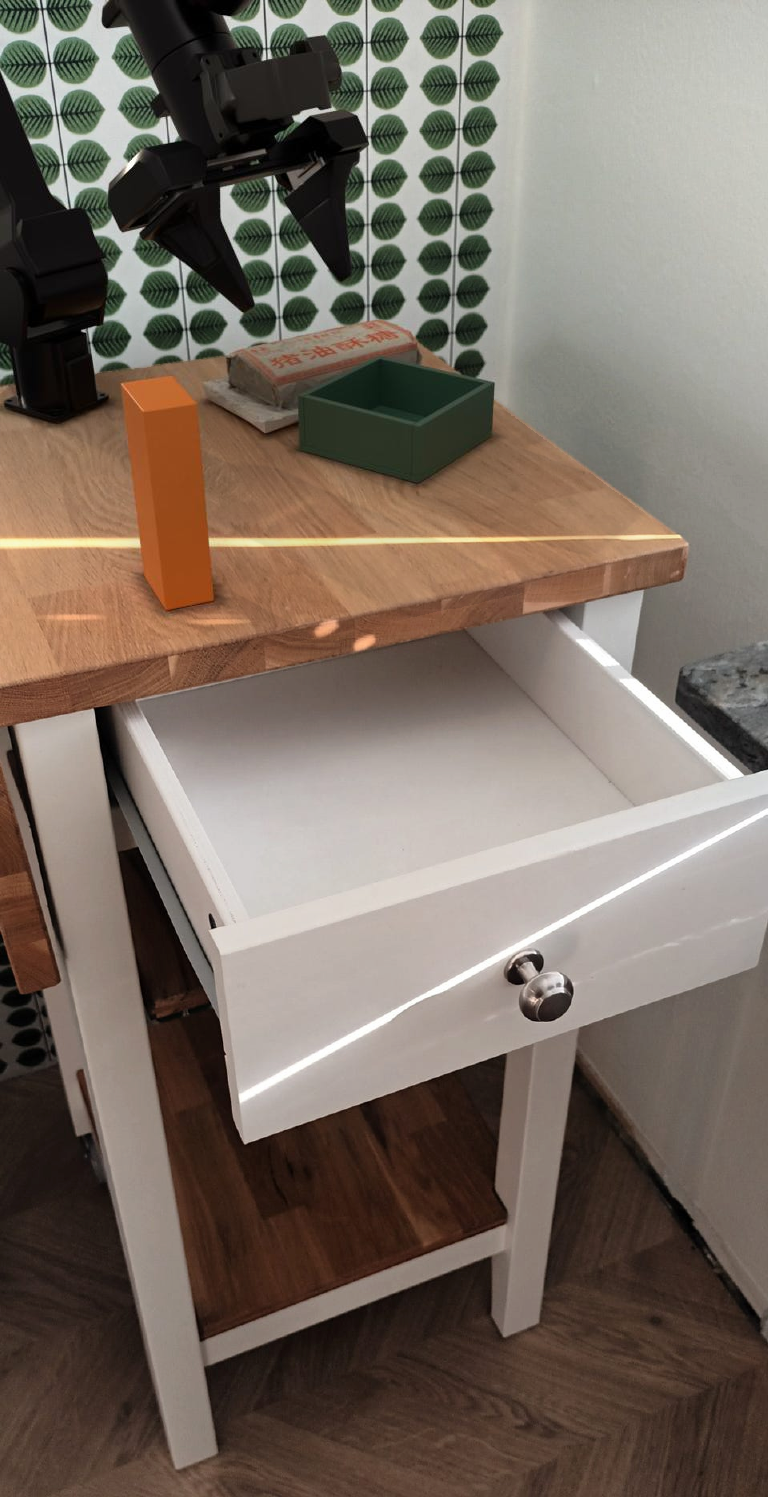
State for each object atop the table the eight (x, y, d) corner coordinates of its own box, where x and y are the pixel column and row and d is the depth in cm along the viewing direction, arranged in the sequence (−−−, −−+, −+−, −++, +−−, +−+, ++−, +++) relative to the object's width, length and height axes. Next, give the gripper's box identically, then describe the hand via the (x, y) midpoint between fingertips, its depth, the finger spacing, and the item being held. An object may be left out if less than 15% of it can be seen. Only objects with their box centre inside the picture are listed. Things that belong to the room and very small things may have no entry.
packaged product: (370, 306, 113) (439, 335, 107) (370, 359, 116) (437, 390, 110) (197, 344, 104) (261, 378, 98) (202, 400, 107) (264, 437, 101)
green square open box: (299, 450, 99) (297, 395, 96) (378, 407, 106) (378, 355, 104) (418, 483, 94) (419, 426, 91) (492, 436, 101) (495, 382, 99)
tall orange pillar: (144, 576, 82) (120, 382, 74) (190, 566, 83) (172, 375, 75) (165, 611, 78) (143, 411, 71) (214, 600, 79) (197, 403, 72)
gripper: (141, -5, 67) (267, 272, 70) (368, -27, 79) (469, 212, 82) (52, 103, 76) (169, 346, 79) (269, 69, 87) (364, 283, 90)
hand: (299, 294), depth 82 cm, fingers open, 9 cm apart
